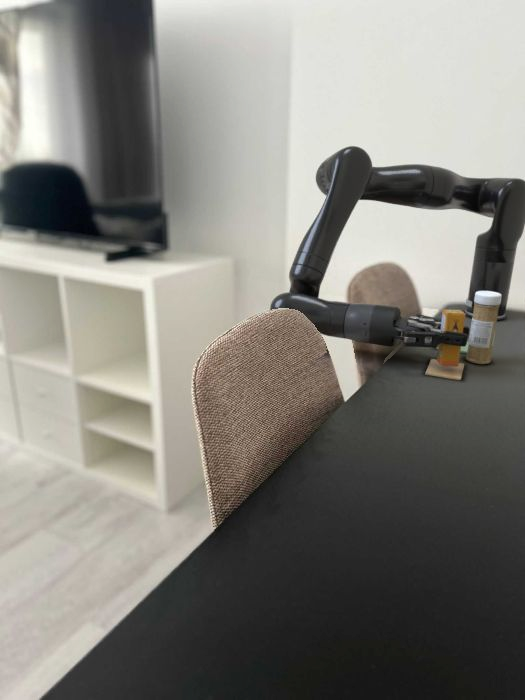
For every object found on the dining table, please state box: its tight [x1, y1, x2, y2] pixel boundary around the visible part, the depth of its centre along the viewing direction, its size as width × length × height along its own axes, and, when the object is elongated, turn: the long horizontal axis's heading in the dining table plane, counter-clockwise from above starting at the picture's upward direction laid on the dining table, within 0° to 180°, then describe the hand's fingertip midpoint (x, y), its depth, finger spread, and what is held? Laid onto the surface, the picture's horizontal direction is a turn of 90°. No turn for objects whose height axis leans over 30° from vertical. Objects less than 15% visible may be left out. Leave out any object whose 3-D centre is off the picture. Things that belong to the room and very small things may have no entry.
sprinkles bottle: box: [465, 291, 502, 365], centre depth 97 cm, size 5×5×13 cm
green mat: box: [435, 341, 469, 354], centre depth 107 cm, size 7×6×1 cm
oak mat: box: [424, 358, 465, 381], centre depth 94 cm, size 8×6×1 cm
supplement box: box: [436, 309, 467, 367], centre depth 92 cm, size 3×3×10 cm
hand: (467, 336), depth 91 cm, fingers closed on supplement box, 3 cm apart
